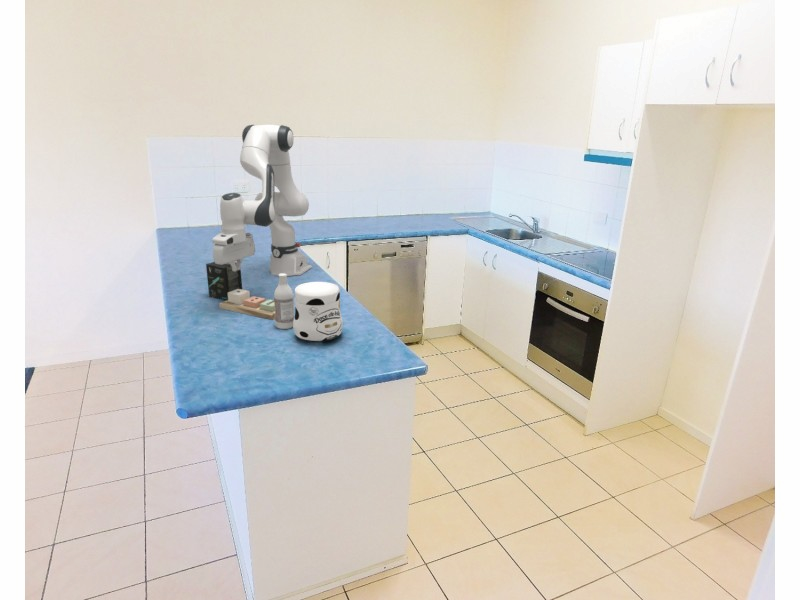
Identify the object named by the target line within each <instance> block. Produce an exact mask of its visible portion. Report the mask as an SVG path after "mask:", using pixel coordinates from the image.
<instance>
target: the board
mask: <svg viewBox="0 0 800 600" xmlns="http://www.w3.org/2000/svg"><path fill="white" fill-rule="evenodd" d="M251 297H252V296H250V298H251ZM218 305H219V309H221V310H226V311H230V312H235V313H239V314H244V315H248V316H253V317H258V318H262V319H267V320H271V321H273V320H275V311H274V312H269V311H265V310H260V307H259V308H257V309H255V308H251V307H246V306H244V303H243V304H240V305H239V304H235V303H230V302H228V300H227V301H224V300H223V301H222V302H220V303H218Z"/></svg>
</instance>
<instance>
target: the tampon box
mask: <svg viewBox="0 0 800 600" xmlns="http://www.w3.org/2000/svg"><path fill="white" fill-rule="evenodd" d="M236 263H237V262H236ZM236 263H235V265H236ZM205 266H206V276H207V286H208V296H209V298H213V299H218V300H221V301H223V302H224V301H227V300H228V292H231V291H233V290H236V289H242V290H243V281H242V280H243V279H242V271H241V270H238V271H232V266H231V265H230V263H226V264H223V265H220V264H216V263H215V262H214V261H213V262H209V263H206V264H205Z"/></svg>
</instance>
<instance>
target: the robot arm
mask: <svg viewBox="0 0 800 600" xmlns="http://www.w3.org/2000/svg"><path fill="white" fill-rule="evenodd" d="M293 132H294V131H293V130H292V129H291V128H290V127H289V126H287V125H283V124H281V125H278V124H271V123H267V124H249V125H246V126H245V127H244V128H243V130H242V134H241V139H242V142H243V143H242V147H241V151H240V157H239V163H240V165H241V168H243V170H244V171H245V172H246V173H248V174H249V175H251V176H252V177H255V178H257V179H260V180H261V182H262V183H261V185H262V187H261V188H262V189H261V192H259V193H258V194H257V195H256V197H255V199H252V200H251V199H244V198H243V197H242V195H241V194H240V193H238V192H237V193H236V192H229V193H226V194H223V195H222V196H221V197H220V203H219V204H220V205H219V208H220V209H219V211H220V213H219V215H220V220H221V225H222V226H221V231H220V232H219V233H218V234H217V235H215V236H214V237H212V240H211V242H212V244H214V245H213V247H212V257H213V262H215V263H216V264H220V265H223V264H226V263H230V265H231V266H232V271H238V270H241V265H242V263H243V259H245V258H248V257H251V256H254V255H255V254H256V246H255V245H256V244H255V241H254V236H253V234H252V233H251V232H246V225H251V226H252V225H253V226H257V227H258V226H260V227H265V228H266V227H268V226H269V229H270V234H271V235H270V237H271V244H270V246H271V247H270V249H271V250H270V252H271V254H270V261H269V262H270V266H269V268H268V271H269V274H270V275H273V276H275V277H277V276H278V277H279V274H281V273H285V274H287V277H291V276H301V275H303V274H305V273H306V272H307V271H310V270H311V269H312V268H313V265H311V264H308V260H307V259H308V258H307V257H306V255H305V254H303V253H302V252H301V251H299V249H298V248H301V245H302V244H301V243H300V242H299V243H298V242H296V231H295V227H294V226H293V225H292V224H290V223H288V222H287V221H286V220H285V218H284V217H302V216H305V215H306V214H307V213H308V211H309V207H310V203H309V199H308V198H307V196H306V195H305V194H303V193H302V192H301V191H300V190H299V189H298V188H297V186H296V184H295V183H294V180H293V173H292V169H291V168H292V167H291V158H290V157H291V156H290V151H289V150H291V148H292V147H293V146H294V133H293ZM275 187H276V188H277V189H278V191H277V192H276V191H275ZM235 263H236V265H235Z"/></svg>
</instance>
